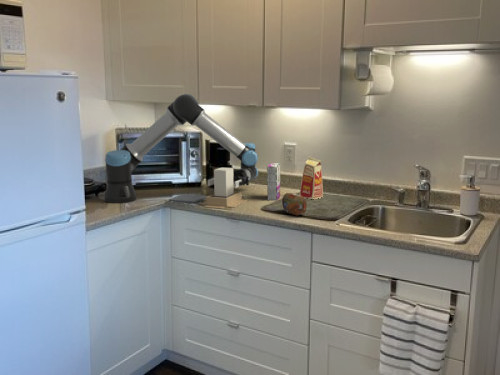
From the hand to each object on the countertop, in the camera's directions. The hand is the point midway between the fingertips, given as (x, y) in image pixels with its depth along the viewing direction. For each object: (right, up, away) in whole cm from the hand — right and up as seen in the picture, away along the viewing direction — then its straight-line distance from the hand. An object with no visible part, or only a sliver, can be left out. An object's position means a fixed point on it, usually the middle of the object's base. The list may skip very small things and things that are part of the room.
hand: (221, 183), depth 237 cm
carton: (+1, -9, +4) cm, 10 cm away
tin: (+32, -13, -17) cm, 39 cm away
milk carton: (+43, -7, +14) cm, 46 cm away
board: (-17, -8, +11) cm, 21 cm away
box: (+1, -9, +4) cm, 10 cm away
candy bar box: (+25, -7, +14) cm, 29 cm away
